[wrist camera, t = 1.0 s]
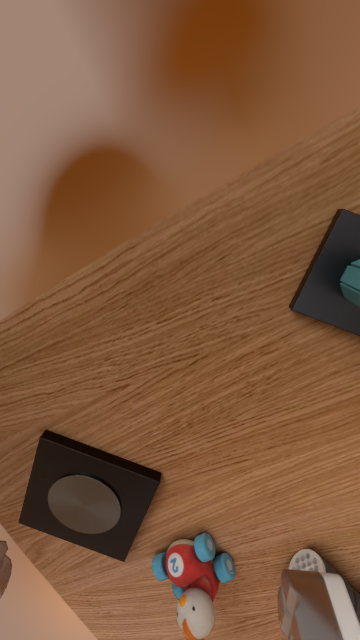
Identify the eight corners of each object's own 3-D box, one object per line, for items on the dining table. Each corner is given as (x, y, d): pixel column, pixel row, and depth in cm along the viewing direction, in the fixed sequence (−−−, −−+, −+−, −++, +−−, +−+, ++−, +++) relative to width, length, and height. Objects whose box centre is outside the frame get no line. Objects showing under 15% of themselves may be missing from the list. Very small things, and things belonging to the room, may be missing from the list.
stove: (24, 513, 45) (16, 525, 43) (46, 429, 40) (38, 438, 38) (127, 551, 45) (123, 564, 44) (161, 472, 40) (159, 484, 38)
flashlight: (391, 603, 43) (415, 655, 38) (358, 619, 44) (377, 671, 39) (315, 541, 41) (329, 587, 36) (284, 560, 42) (293, 606, 37)
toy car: (200, 523, 42) (196, 611, 33) (238, 563, 44) (245, 658, 34) (150, 548, 44) (132, 636, 35) (187, 585, 46) (181, 679, 37)
